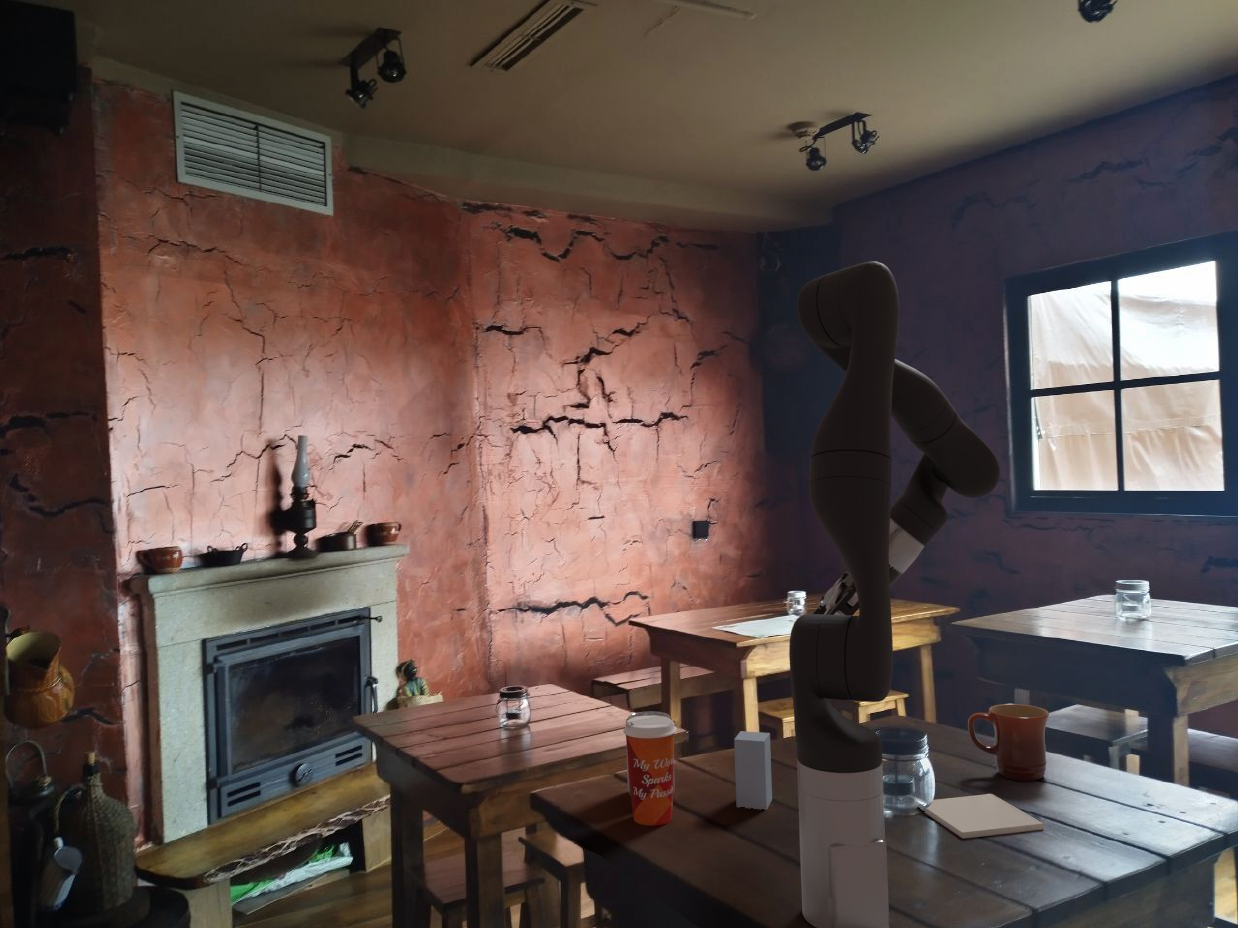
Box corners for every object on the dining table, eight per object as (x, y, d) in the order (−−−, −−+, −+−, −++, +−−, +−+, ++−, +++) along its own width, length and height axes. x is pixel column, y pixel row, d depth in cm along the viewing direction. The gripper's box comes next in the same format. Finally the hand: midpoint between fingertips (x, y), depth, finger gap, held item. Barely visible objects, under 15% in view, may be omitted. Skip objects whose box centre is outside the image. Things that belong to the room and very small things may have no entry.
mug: (1046, 768, 149) (1044, 704, 149) (1055, 786, 141) (1053, 719, 141) (967, 763, 152) (965, 701, 153) (971, 781, 144) (969, 715, 144)
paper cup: (635, 831, 128) (632, 730, 128) (619, 812, 135) (616, 717, 135) (688, 824, 130) (684, 724, 130) (669, 806, 137) (666, 712, 138)
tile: (1043, 829, 124) (1043, 823, 124) (962, 838, 122) (962, 832, 122) (991, 799, 136) (991, 793, 136) (917, 806, 134) (916, 801, 134)
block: (766, 809, 135) (764, 741, 135) (736, 806, 136) (734, 739, 136) (772, 799, 139) (769, 732, 139) (742, 796, 140) (740, 731, 141)
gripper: (858, 530, 138) (787, 610, 140) (866, 544, 124) (787, 632, 126) (898, 562, 137) (826, 642, 139) (910, 580, 123) (830, 669, 126)
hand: (808, 637), depth 133 cm, fingers open, 8 cm apart
